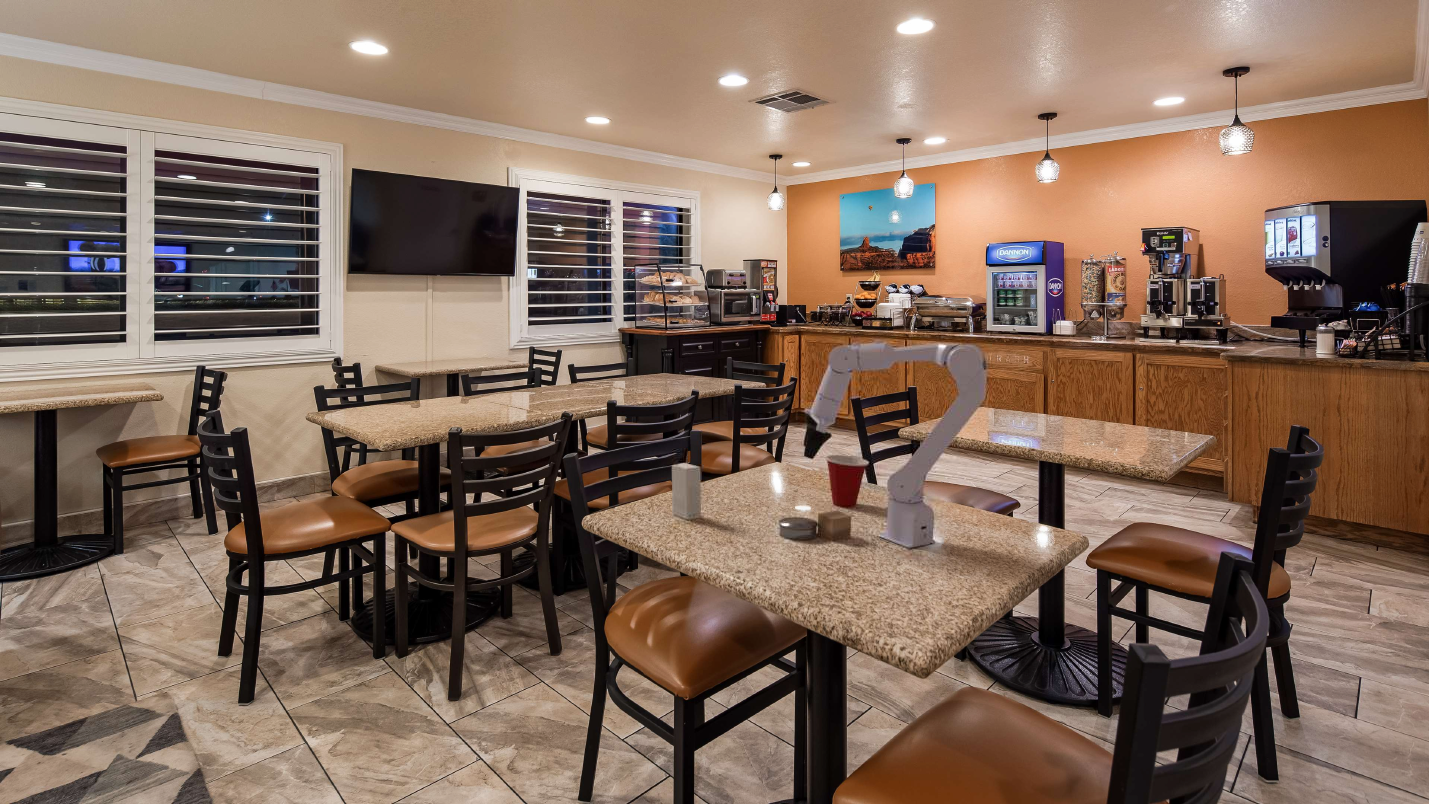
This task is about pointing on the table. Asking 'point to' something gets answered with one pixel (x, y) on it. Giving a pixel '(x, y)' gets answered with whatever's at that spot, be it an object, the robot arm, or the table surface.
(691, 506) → the skincare box
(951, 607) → the table surface
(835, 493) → the plastic cup
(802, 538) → the grey metal cylinder
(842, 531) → the walnut block
